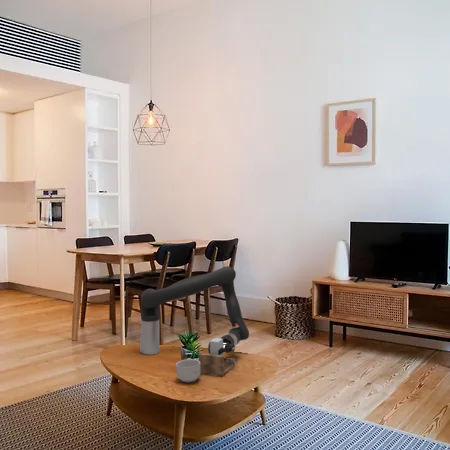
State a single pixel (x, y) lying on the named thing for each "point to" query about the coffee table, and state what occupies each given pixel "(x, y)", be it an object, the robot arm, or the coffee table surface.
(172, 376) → the coffee table surface
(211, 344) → the tall grey pillar
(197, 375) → the teacup
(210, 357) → the track block
